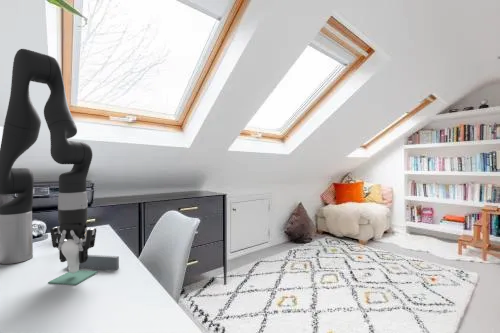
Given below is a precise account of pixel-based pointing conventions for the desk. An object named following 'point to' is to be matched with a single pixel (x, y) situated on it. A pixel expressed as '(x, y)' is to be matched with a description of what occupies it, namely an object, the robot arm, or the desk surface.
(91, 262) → the wall
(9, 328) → the desk surface
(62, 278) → the pad
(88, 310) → the desk surface
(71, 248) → the lightbulb
